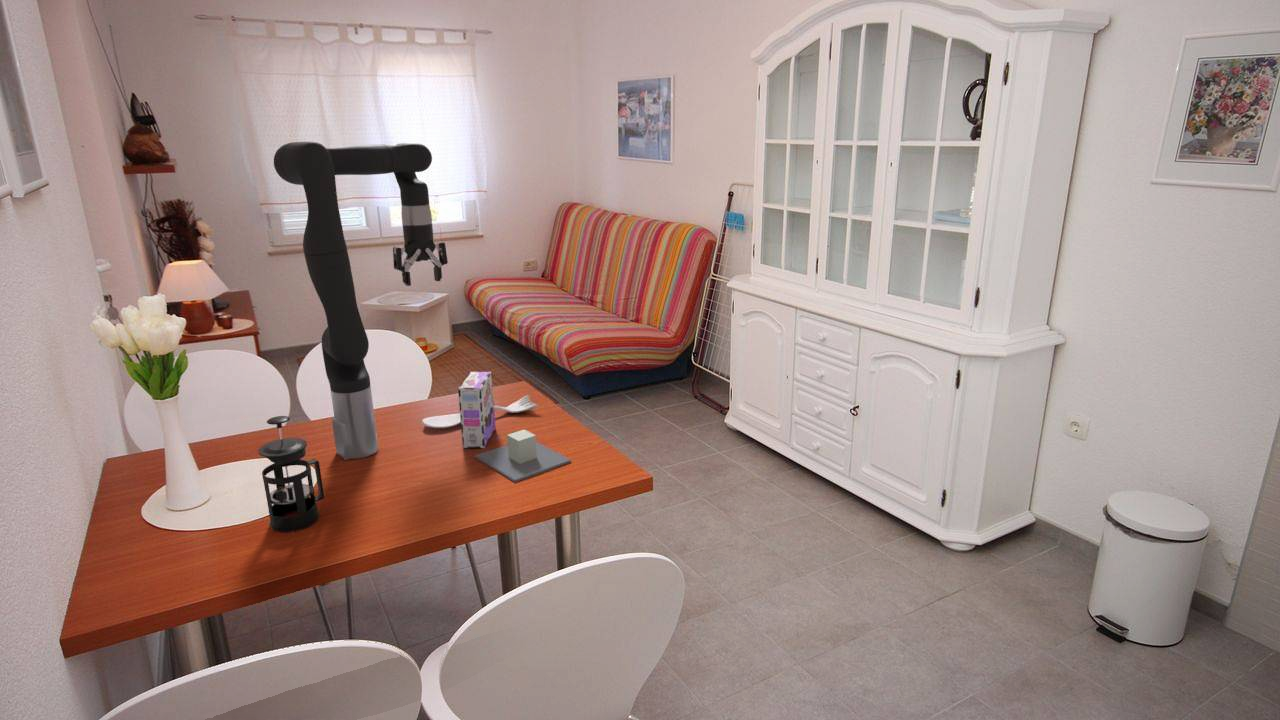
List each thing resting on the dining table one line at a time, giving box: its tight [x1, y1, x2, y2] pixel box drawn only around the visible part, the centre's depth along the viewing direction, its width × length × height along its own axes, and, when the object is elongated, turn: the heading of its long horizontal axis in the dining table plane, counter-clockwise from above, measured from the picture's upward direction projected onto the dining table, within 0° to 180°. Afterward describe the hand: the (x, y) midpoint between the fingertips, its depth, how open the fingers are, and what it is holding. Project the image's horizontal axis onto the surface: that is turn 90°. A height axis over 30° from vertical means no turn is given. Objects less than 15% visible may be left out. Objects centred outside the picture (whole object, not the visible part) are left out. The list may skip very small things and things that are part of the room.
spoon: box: [421, 395, 540, 429], centre depth 207 cm, size 9×32×4 cm, turn 119°
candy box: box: [457, 371, 496, 449], centre depth 192 cm, size 14×6×16 cm, turn 179°
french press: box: [257, 415, 325, 533], centre depth 151 cm, size 12×9×23 cm
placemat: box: [474, 441, 572, 483], centre depth 181 cm, size 16×18×1 cm
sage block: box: [506, 429, 537, 464], centre depth 180 cm, size 5×5×6 cm
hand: (423, 283), depth 199 cm, fingers open, 8 cm apart
